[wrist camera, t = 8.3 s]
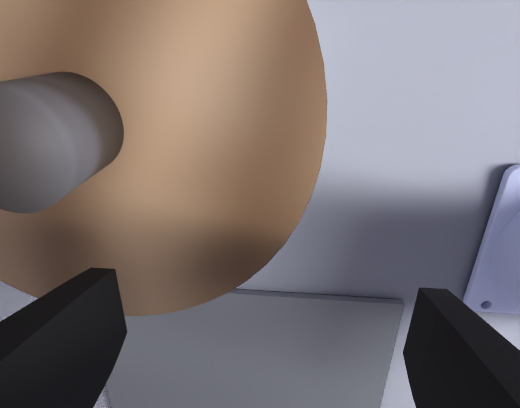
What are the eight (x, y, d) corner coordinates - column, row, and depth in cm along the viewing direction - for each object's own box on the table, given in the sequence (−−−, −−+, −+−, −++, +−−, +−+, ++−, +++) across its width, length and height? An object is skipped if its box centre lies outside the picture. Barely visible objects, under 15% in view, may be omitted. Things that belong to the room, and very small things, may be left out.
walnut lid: (392, -148, 8) (461, -274, 5) (277, 331, 15) (272, 421, 11) (-245, -257, 8) (-609, -452, 5) (-81, 266, 15) (-191, 335, 12)
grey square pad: (402, 299, 20) (404, 304, 19) (359, 486, 28) (360, 493, 27) (84, 279, 21) (80, 283, 21) (128, 464, 29) (126, 469, 28)
